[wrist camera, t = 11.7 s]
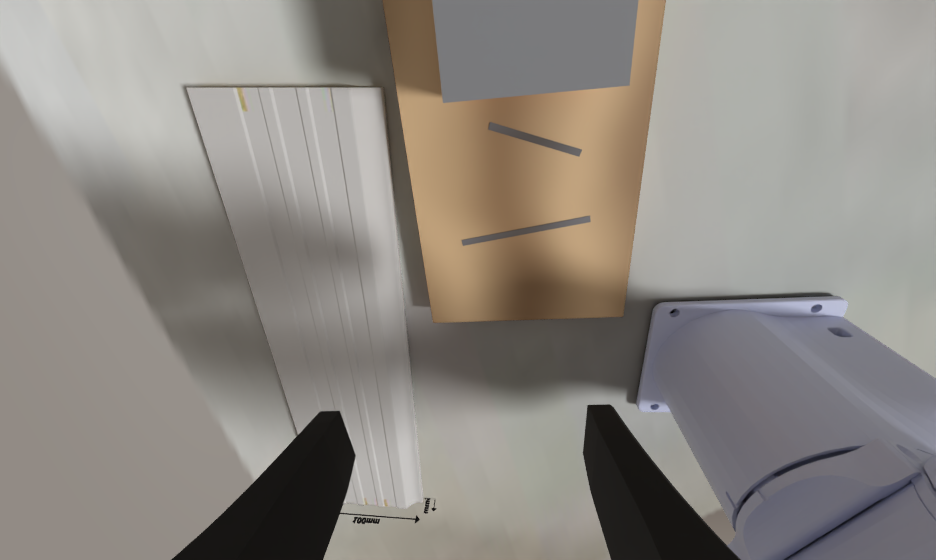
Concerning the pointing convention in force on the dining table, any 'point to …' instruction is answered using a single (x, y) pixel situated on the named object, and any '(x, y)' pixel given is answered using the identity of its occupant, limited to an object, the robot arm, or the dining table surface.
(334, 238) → the baseboard
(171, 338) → the dining table surface
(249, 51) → the dining table surface
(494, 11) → the block
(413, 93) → the board
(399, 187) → the dining table surface
